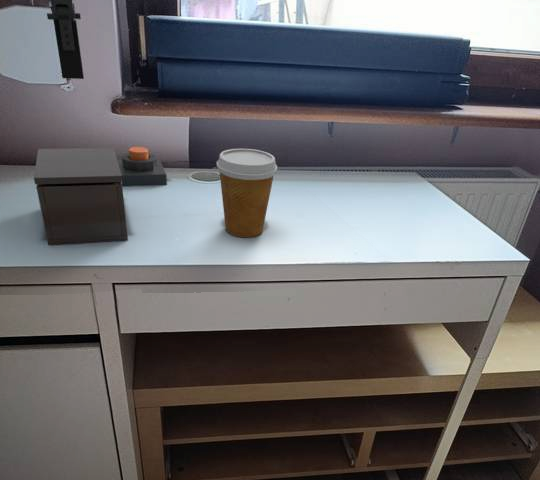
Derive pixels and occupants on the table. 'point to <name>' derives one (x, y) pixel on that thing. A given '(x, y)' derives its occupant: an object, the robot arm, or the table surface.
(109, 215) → the dark brown box
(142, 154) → the button
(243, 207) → the disposable coffee cup
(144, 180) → the block
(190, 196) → the table surface
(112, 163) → the grey box lid
